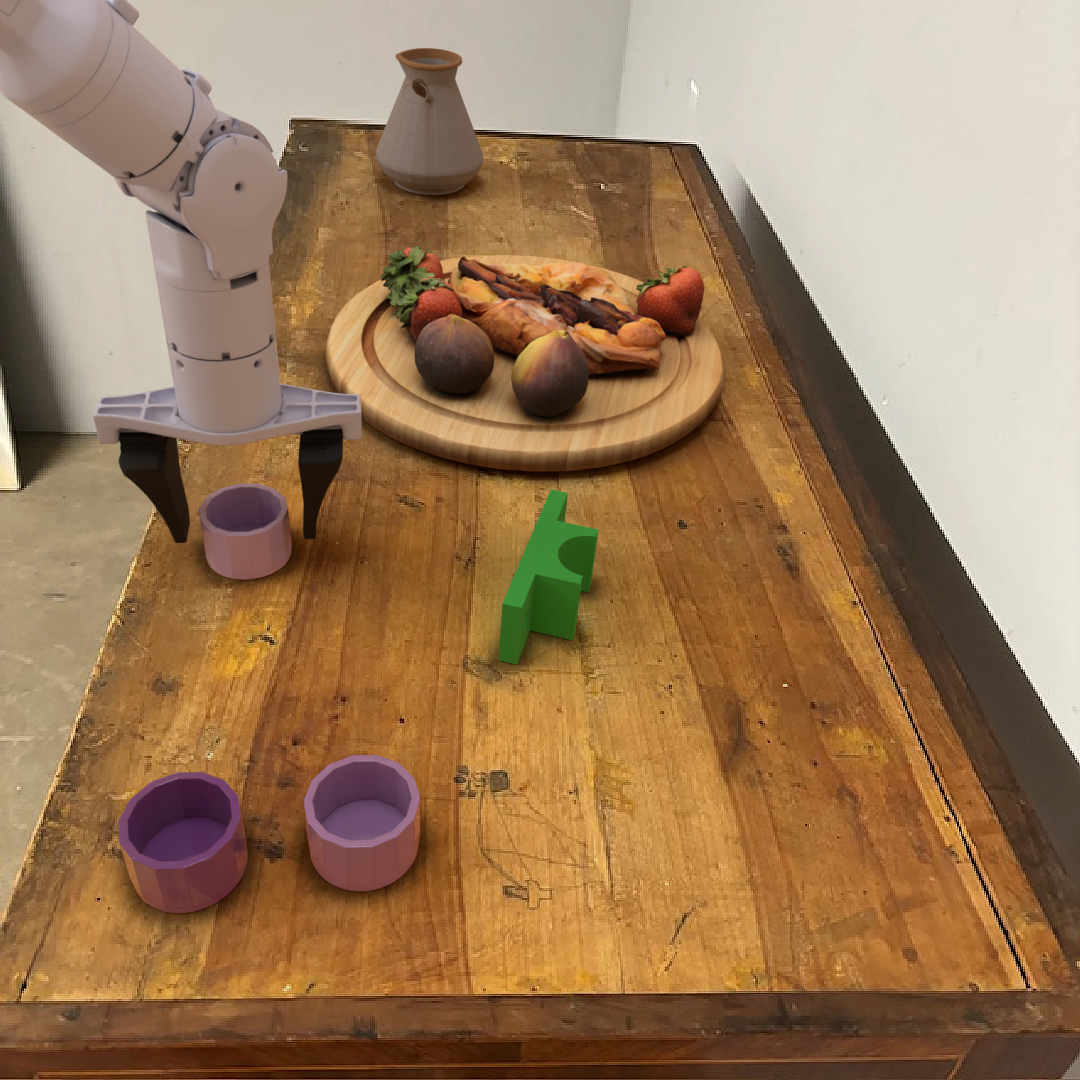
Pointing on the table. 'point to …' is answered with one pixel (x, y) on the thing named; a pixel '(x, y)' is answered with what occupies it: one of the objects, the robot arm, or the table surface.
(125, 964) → the table surface
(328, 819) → the mauve dish
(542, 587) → the pipe clamp
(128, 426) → the robot arm
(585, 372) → the wooden plate
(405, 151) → the coffee pot
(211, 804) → the plum dish
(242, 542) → the lavender dish
